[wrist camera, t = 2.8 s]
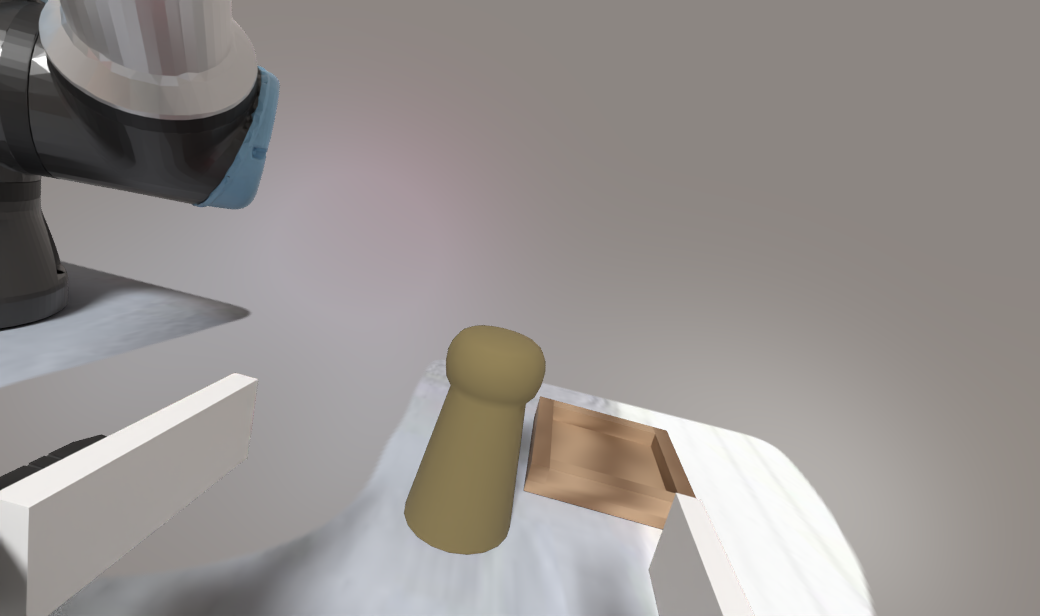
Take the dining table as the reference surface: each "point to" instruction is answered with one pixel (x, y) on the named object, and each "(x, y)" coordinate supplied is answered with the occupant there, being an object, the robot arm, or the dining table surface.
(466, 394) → the cork
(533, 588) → the dining table surface
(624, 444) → the tray
